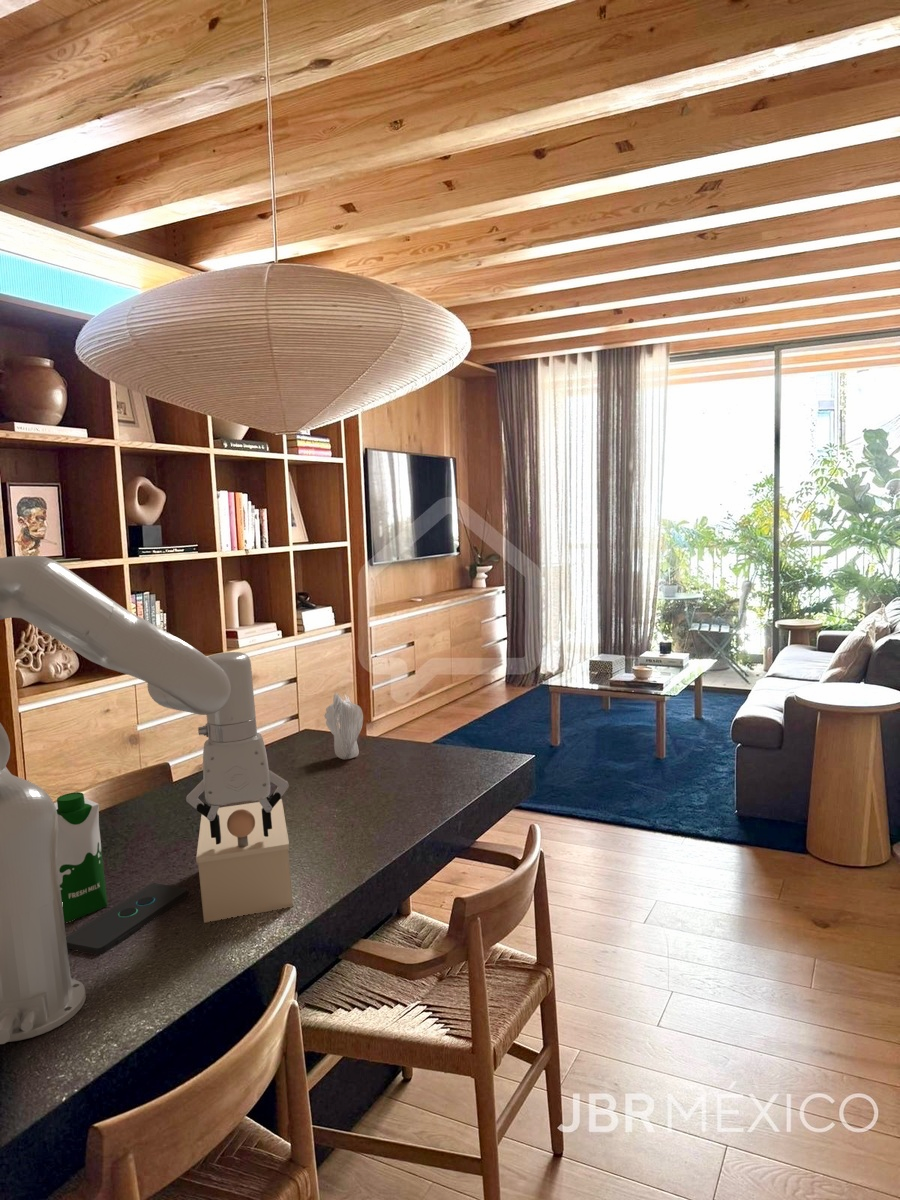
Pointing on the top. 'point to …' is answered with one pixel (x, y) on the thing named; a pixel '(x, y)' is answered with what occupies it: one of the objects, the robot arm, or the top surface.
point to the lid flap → (242, 833)
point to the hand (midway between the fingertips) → (242, 836)
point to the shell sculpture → (344, 726)
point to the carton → (245, 885)
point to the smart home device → (125, 918)
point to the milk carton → (79, 856)
